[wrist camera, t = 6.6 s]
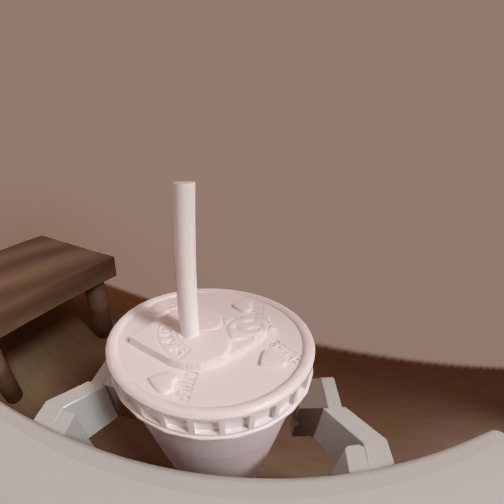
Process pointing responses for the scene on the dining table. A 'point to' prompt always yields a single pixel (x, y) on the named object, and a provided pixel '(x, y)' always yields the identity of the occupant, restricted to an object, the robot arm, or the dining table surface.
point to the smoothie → (210, 364)
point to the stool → (49, 289)
